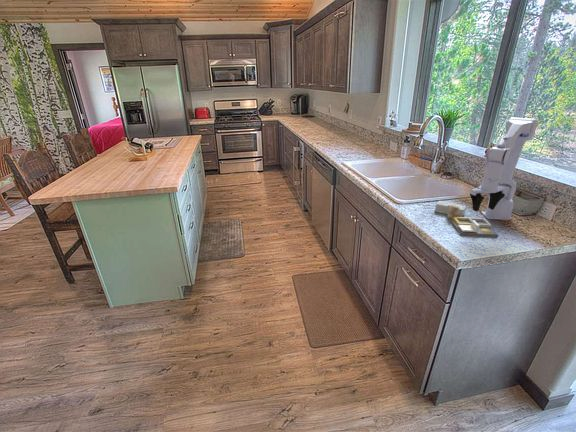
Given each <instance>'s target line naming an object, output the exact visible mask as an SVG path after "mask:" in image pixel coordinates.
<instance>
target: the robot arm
mask: <svg viewBox="0 0 576 432" xmlns="http://www.w3.org/2000/svg"><path fill="white" fill-rule="evenodd" d="M538 124H539V120H538V118H528V117H527V118H525V117H524V118H523V117H514V116H511V117H510V118H508V120H507V122H506V125H505V135H504V136H502V137H500V138H499V139H498V141H497V142H496V144H495V145H494V146H493V147H490V148H489V149H488V151H487V152H486V156H485V164H484V165H485V166H484V167H485V169H484V173H483V177H482V181H481V185H479V186H478V187H476V188H472V189H470V193H469V196H470V199H471V205H472V211H474V212H478V211H479V210H480V207H481V204H482V202H483V201H484V199H485V196H482V195H485V194H486V195H487V196H488V197H487V198H488V202H487V205H486V207H485V211H481V212H480V213H481V214H482V215H484V217H485V218H487V219H488V220H503V221H504V220H505V221H510V220H511V216H512V213H513V210H514V207H515V205H514V200H513V198H514V196H515V194H516V190H517V185H518V184H517V182H516V181H515V180H514V179H513V176H514V172H515V170H516V167H517V164H518V163H519V159H520V156H521V153H522V151H523V148H524V146H525V145H526V143H527V142H528V141H531V140H532V139H533V137H534V135H535V133H536V130H537V128H538Z"/></svg>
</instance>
